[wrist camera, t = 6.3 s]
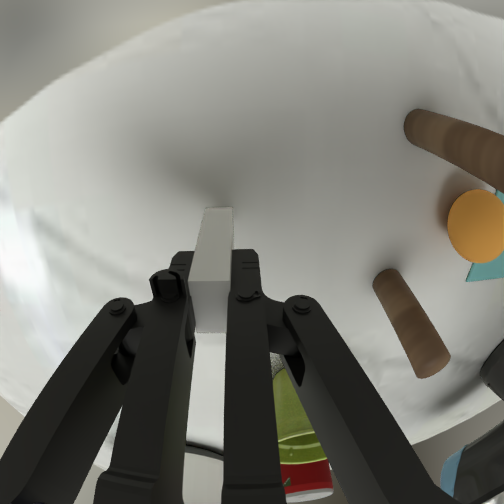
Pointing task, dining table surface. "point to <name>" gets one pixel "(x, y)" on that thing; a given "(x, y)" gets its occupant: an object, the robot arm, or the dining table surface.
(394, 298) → the post far
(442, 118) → the post near
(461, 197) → the ball
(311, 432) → the plant pot
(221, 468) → the pot
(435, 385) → the dining table surface
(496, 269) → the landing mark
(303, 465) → the canned food
